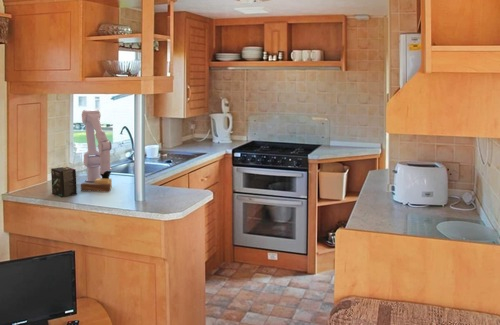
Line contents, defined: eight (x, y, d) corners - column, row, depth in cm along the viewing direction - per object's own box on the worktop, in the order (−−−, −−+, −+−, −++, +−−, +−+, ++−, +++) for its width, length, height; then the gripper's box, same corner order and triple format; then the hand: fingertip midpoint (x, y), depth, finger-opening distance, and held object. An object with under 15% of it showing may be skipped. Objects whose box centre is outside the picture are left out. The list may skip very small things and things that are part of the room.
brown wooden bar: (82, 189, 291) (82, 182, 290) (110, 190, 291) (110, 183, 290) (81, 190, 288) (80, 184, 287) (108, 191, 288) (108, 184, 287)
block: (98, 186, 300) (98, 178, 299) (111, 186, 300) (111, 178, 299) (94, 188, 294) (94, 180, 293) (108, 189, 294) (108, 180, 293)
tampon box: (77, 194, 279) (76, 169, 276) (61, 197, 272) (60, 171, 270) (67, 191, 286) (66, 166, 284) (51, 194, 279) (50, 168, 277)
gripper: (108, 163, 292) (108, 186, 294) (115, 159, 306) (115, 181, 308) (96, 163, 292) (96, 186, 294) (103, 159, 306) (104, 180, 308)
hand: (105, 183), depth 301 cm, fingers closed
